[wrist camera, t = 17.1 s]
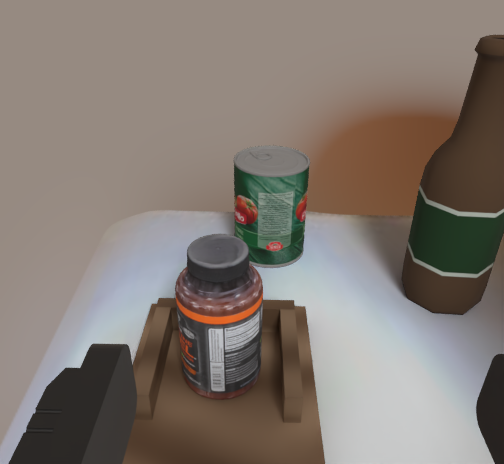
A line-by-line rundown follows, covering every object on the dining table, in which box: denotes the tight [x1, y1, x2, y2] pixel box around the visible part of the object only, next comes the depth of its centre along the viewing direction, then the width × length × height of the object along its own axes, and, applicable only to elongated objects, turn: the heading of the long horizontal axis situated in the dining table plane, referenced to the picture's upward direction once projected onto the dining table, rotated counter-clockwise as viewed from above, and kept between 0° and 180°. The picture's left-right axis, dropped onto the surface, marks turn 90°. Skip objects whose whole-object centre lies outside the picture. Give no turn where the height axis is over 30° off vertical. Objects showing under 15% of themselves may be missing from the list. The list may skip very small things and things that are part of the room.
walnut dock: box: [122, 298, 325, 464], centre depth 36 cm, size 16×14×4 cm
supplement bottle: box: [175, 234, 263, 400], centre depth 34 cm, size 6×6×11 cm
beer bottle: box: [402, 35, 504, 315], centre depth 42 cm, size 8×8×24 cm
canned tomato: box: [234, 146, 310, 268], centre depth 52 cm, size 8×8×11 cm
